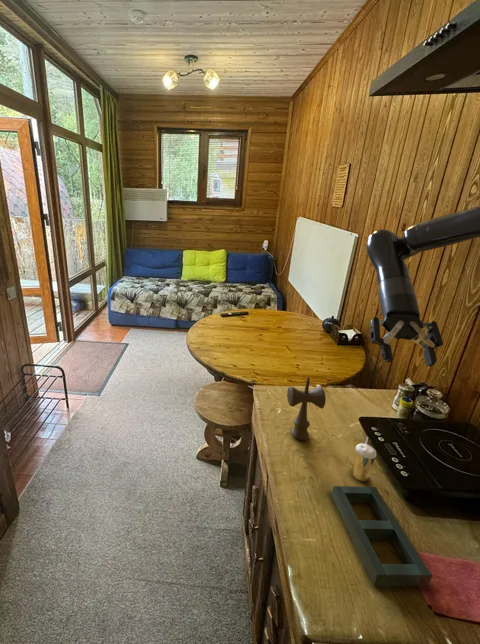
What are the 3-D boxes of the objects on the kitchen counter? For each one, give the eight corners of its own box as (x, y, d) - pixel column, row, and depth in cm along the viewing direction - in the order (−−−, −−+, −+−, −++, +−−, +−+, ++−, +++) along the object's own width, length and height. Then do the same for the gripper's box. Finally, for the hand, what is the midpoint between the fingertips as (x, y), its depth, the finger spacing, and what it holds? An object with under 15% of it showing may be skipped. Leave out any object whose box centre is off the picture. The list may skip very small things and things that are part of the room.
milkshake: (369, 470, 80) (377, 439, 77) (370, 486, 76) (378, 454, 73) (350, 464, 82) (357, 433, 79) (349, 478, 78) (357, 447, 75)
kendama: (319, 443, 89) (330, 383, 83) (285, 442, 89) (294, 382, 83) (312, 429, 95) (322, 372, 89) (280, 427, 95) (288, 371, 89)
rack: (372, 496, 73) (375, 486, 72) (428, 586, 56) (432, 575, 55) (331, 495, 73) (333, 485, 72) (373, 585, 56) (377, 574, 55)
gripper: (372, 290, 73) (383, 355, 66) (438, 294, 71) (456, 361, 64) (360, 304, 80) (368, 365, 73) (420, 308, 78) (435, 371, 71)
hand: (409, 363), depth 68 cm, fingers open, 8 cm apart
